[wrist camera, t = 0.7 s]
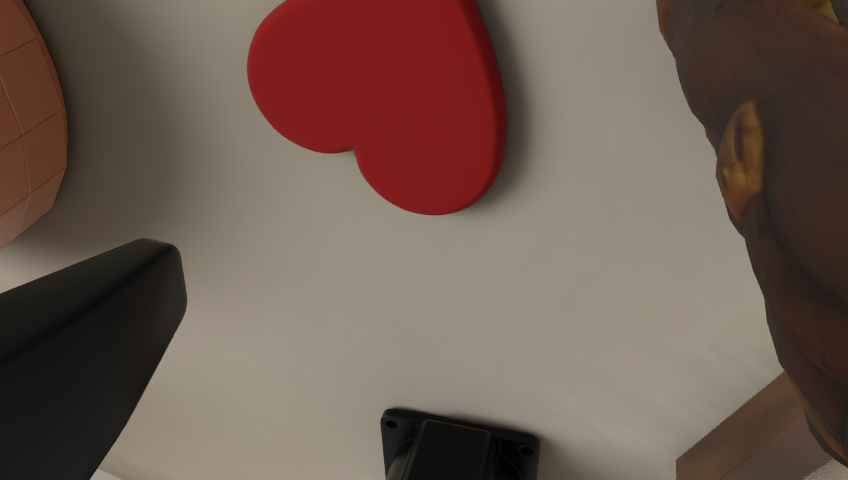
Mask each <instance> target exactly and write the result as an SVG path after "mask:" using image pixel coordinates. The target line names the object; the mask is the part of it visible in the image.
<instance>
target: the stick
mask: <svg viewBox="0 0 848 480" xmlns="http://www.w3.org/2000/svg"><path fill="white" fill-rule="evenodd" d="M832 459H834V458H833V457H831V456H830V455H829V454H827V453H826V452H824V451H823V449H822V448H821V446H820V445H819V443H818V442H817V441H816V439H815V438H814V436H813V435H812V433H811V432H810V430H809V427H808V424H807V420H806V417H805V414H804V411H803V407H802V405H801V402H800V400H799V397H798V395H797V393H796V391H795V389H794V388H793V386H792V384H791V382H790V380H789V378H788V375H787V373H786V372H785V371H784V372H783V373H782V374H781V375H780V376H778V377H777V378H776V379H775V380H773V381H772V382H771V383H770V384H769V385H767V386H766V387H765V388H764V389H762V390H761V391H760V392H759V393H758V394H756V395H755V396H754V397H753V398H751V399H750V400H749V401H748V402H747V403H745V404H744V405H743V406H742V407H741V408H739V409H738V410H737V411H736V412H734V413H733V414H732V415H731V416H730V417H728V418H727V419H726V420H725V421H723V422H722V423H721V424H720V425H719V426H717V427H716V428H715V429H714V430H712V431H711V432H710V433H709V434H708V435H706V436H705V437H704V438H703V439H701V440H700V441H699V442H698V443H697V444H695V445H694V446H693V447H692V448H690V449H689V450H688V451H687V452H686V453H684V454H683V455H682V456H681V457H679V458H678V459H677V460H676V480H802V479H803V478H805V477H806V476H808V475H809V474H811V473H812V472H814V471H815V470H817V469H818V468H820V467H821V466H823V465H824V464H826V463H828V462H829V461H831V460H832Z"/></svg>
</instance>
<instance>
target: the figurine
mask: <svg viewBox="0 0 848 480" xmlns="http://www.w3.org/2000/svg"><path fill="white" fill-rule="evenodd" d="M656 3H657V12H658V20H659V28H660V32H661V34H662V35H663V37H664V39H665V41H666V43H667V45H668V47H669V49H670V50H671V52H672V53H673V56H674V58H675V59H676V67H677V72H678V76H679V79H680V83H681V86H682V90H683V92H684V95H685V97H686V100H687V102H688V104H689V107H690V109H691V111H692V113H693V114H694V115H695V116H696V117H697V118H698V120H699V121H700V122H701V123H702V124H703V125H704V127H705V131H706V136H707V138H708V140H709V141H710V143H711V144H712V146H713V147H714V149H715V153H716V156H717V165H716V178H717V181H718V184H719V187H720V190H721V193H722V196H723V198H724V201H725V204H726V208H727V211H728V215H729V219H730V220H731V222H732V223H733V225H734V226H735V228H736V229H737V231H738V232H739V233H740V234H741V235H742V236H743V237H744V238H745V242H746V246H747V250H748V254H749V257H750V261H751V264H752V268H753V271H754V274H755V276H756V278H757V281H758V283H759V286H760V288H761V291H762V293H763V296H764V299H765V308H766V317H767V323H768V326H769V330H770V333H771V336H772V340H773V343H774V346H775V350H776V353H777V356H778V360H779V363H780V364H781V366H782V367H783V369H784V370H785V372H786V373H787V375H788V378H789V380H790V382H791V384H792V386H793V388H794V389H795V391H796V393H797V395H798V397H799V400H800V402H801V405H802V407H803V411H804V414H805V417H806V420H807V424H808V427H809V430H810V432H811V433H812V435H813V436H814V438H815V439H816V441H817V442H818V443H819V445H820V446H821V448H822V449H823V451H824V452H826V453H827V454H829V455H830V456H831V457H833V458H834V459H836V460H837V461H838V462H840V463H841V464H843V465H844V466H846V467H847V468H848V27H844V26H842V25H841V24H839V21H838V19H837V17H836V15H835V13H834V11H833V8H832V5H831V2H830V0H656Z"/></svg>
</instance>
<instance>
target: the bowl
mask: <svg viewBox="0 0 848 480" xmlns="http://www.w3.org/2000/svg"><path fill="white" fill-rule="evenodd" d="M67 145H68V128H67V115H66V109H65V103H64V98H63V93H62V89H61V86H60V83H59V79H58V76H57V73H56V69H55V66H54V64H53V61H52V59H51V56H50V54H49V51H48V49H47V47H46V44H45V42H44V39H43V37H42V35H41V33H40V31H39V30H38V28H37V26H36V24H35V22H34V20H33V18H32V16H31V14H30V12H29V10H28V9H27V7H26V5H25V4H24V2H23V1H22V0H0V250H1V249H2V248H3V247H5V246H6V245H7V244H8V243H10V242H11V241H12V240H13V239H15V238H16V237H17V236H18V235H20V234H21V233H22V232H23V231H24V230H26V229H27V228H28V227H29V226H31V225H32V224H33V223H34V222H36V221H37V220H38V219H39V218H41V217H42V216H43V215H44V214H45V213H47V212H48V211H49V210H50V209H51V208H52V206H53V203H54V201H55V198H56V195H57V193H58V190H59V187H60V184H61V182H62V179H63V176H64V173H65V171H66V168H67V167H66V166H67V156H66V154H67Z"/></svg>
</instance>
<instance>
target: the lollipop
mask: <svg viewBox="0 0 848 480" xmlns="http://www.w3.org/2000/svg"><path fill="white" fill-rule="evenodd" d="M247 75H248V82H249V86H250V89H251V92H252V95H253V98H254V100H255V102H256V104H257V106H258V108H259V109H260V111H261V112H262V114H263V115H264V117H265V118H266V119H267V121H268V122H269V123H270V124H271V125H272V126H273V127H274V129H276V130H277V131H278V132H279V133H280V134H281V135H283V136H284V137H286V138H287V139H288V140H290V141H292V142H293V143H295V144H297V145H299V146H301V147H303V148H306V149H309V150H312V151H316V152H321V153H329V154H330V153H340V152H345V151H349V150H352V149H354V151H355V155H356V159H357V162H358V166H359V168H360V171H361V173H362V175H363V176H364V178H365V179H366V181H367V182H368V183H369V184H370V186H371V187H372V188H373V189H374V190H375V191H376V192H377V193H378V194H379V195H381V196H382V197H383V198H384V199H386V200H387V201H389V202H390V203H392V204H394V205H396V206H398V207H399V208H402V209H404V210H407V211H410V212H413V213H418V214H425V215H445V214H450V213H454V212H457V211H460V210H462V209H465V208H467V207H469V206H470V205H472V204H473V203H474V202H476V201H477V200H478V199H479V198H481V197H482V196H483V195H484V194H485V193H486V192H487V190H488V189H489V188H490V187H491V185H492V184H493V182H494V181H495V179H496V177H497V175H498V173H499V171H500V168H501V165H502V161H503V156H504V150H505V142H506V128H507V115H506V105H505V99H504V93H503V88H502V83H501V79H500V74H499V70H498V65H497V61H496V58H495V54H494V51H493V48H492V45H491V42H490V39H489V36H488V34H487V31H486V28H485V25H484V23H483V20H482V17H481V15H480V12H479V10H478V7H477V5H476V3H475V0H286V1H285V2H284V3H282V4H281V5H279V6H278V7H277V8H276V9H274V10H273V11H272V12H271V13H270V14H269V15H268V16H267V17H266V18H265V19H264V20H263V21H262V23H261V24H260V26H259V27H258V29H257V31H256V32H255V35H254V37H253V39H252V42H251V45H250V49H249V54H248V61H247Z"/></svg>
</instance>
